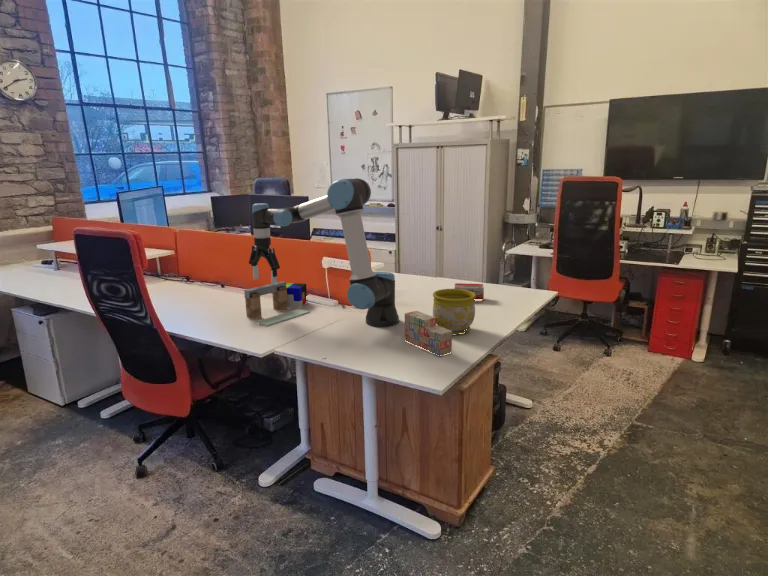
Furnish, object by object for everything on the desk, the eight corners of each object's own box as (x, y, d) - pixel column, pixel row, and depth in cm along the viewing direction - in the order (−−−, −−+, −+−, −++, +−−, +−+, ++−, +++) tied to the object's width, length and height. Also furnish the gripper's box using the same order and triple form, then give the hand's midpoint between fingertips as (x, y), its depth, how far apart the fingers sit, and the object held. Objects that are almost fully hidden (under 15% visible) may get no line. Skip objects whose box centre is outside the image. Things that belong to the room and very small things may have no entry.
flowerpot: (465, 340, 200) (467, 301, 196) (425, 333, 209) (425, 296, 205) (480, 327, 215) (481, 291, 211) (442, 321, 224) (442, 286, 220)
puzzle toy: (300, 307, 248) (299, 288, 246) (281, 306, 250) (280, 287, 248) (307, 302, 258) (306, 283, 255) (289, 301, 260) (288, 283, 257)
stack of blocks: (452, 354, 186) (452, 323, 183) (439, 358, 183) (440, 326, 180) (416, 338, 203) (416, 309, 200) (404, 341, 200) (404, 312, 197)
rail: (281, 287, 247) (281, 281, 246) (286, 289, 244) (286, 282, 244) (244, 297, 230) (244, 290, 229) (249, 298, 228) (248, 291, 227)
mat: (310, 312, 240) (310, 311, 240) (267, 326, 220) (267, 324, 220) (299, 309, 245) (299, 308, 244) (255, 322, 225) (255, 321, 225)
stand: (287, 309, 245) (286, 286, 242) (254, 319, 230) (252, 294, 227) (279, 307, 249) (278, 284, 246) (246, 316, 234) (244, 292, 231)
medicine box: (453, 301, 256) (454, 286, 254) (454, 297, 264) (454, 283, 262) (483, 302, 254) (484, 287, 252) (482, 298, 262) (483, 283, 260)
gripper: (286, 238, 226) (288, 283, 231) (252, 233, 241) (255, 275, 246) (273, 240, 220) (275, 286, 226) (239, 235, 235) (242, 278, 241)
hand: (265, 281), depth 236 cm, fingers open, 13 cm apart
